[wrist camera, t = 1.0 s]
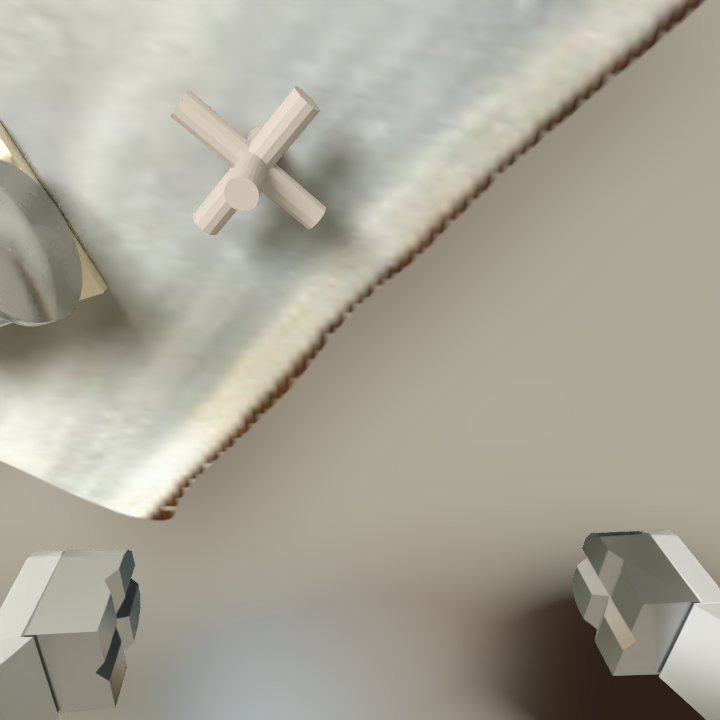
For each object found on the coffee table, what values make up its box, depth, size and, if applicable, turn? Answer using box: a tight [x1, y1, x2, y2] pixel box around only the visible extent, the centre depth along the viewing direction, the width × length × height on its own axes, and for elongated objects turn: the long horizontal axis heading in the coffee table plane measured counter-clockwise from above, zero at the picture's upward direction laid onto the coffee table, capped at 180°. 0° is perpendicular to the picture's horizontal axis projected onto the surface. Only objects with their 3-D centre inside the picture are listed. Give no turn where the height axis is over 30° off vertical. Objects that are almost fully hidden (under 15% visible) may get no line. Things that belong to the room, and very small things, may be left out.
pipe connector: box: [171, 87, 326, 235], centre depth 34 cm, size 10×10×10 cm
